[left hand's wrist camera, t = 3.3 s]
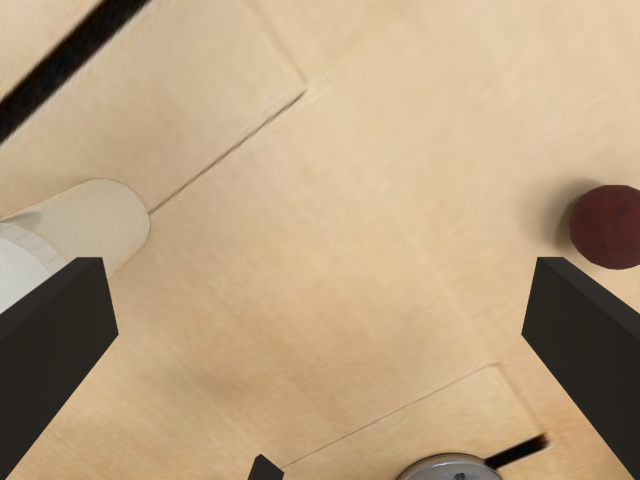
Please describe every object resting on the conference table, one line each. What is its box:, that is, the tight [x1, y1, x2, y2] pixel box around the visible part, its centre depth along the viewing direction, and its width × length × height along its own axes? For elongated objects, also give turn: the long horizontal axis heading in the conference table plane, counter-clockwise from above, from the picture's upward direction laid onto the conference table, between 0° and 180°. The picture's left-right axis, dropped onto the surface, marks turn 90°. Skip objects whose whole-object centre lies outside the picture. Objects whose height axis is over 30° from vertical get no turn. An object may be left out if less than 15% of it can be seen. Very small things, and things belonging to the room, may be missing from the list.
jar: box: [0, 178, 150, 279], centre depth 34 cm, size 8×8×16 cm
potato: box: [570, 185, 640, 270], centre depth 38 cm, size 7×8×7 cm
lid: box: [0, 223, 68, 314], centre depth 27 cm, size 9×9×2 cm
